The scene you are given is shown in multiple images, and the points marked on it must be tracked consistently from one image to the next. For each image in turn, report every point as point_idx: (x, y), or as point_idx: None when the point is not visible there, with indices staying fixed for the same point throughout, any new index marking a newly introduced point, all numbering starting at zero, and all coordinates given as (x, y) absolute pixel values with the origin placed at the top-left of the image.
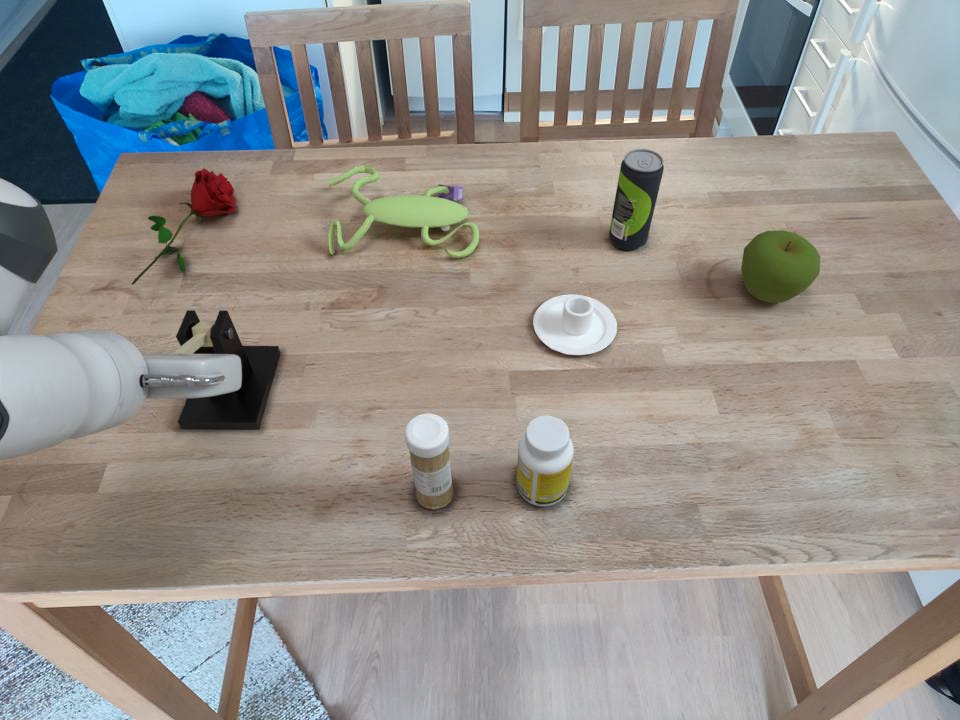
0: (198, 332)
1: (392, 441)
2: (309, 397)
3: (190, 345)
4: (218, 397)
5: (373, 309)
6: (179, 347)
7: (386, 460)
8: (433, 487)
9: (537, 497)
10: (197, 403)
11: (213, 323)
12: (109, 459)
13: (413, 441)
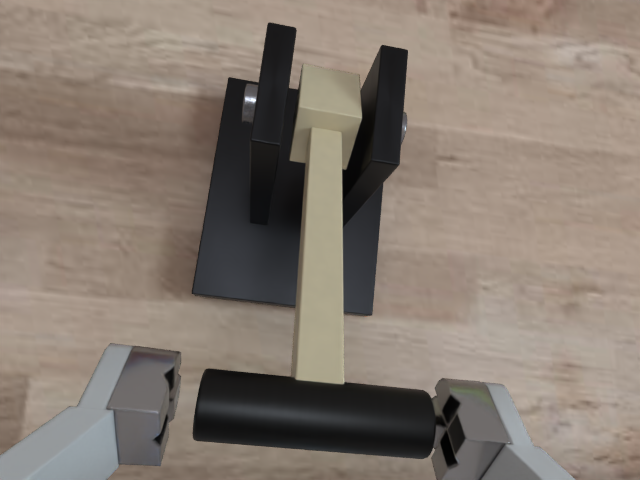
0: (317, 124)
1: (626, 374)
2: (456, 244)
3: (340, 218)
4: (277, 233)
5: (550, 37)
6: (306, 231)
7: (621, 420)
8: None
9: None
10: (231, 244)
11: (354, 88)
12: (32, 365)
13: None
